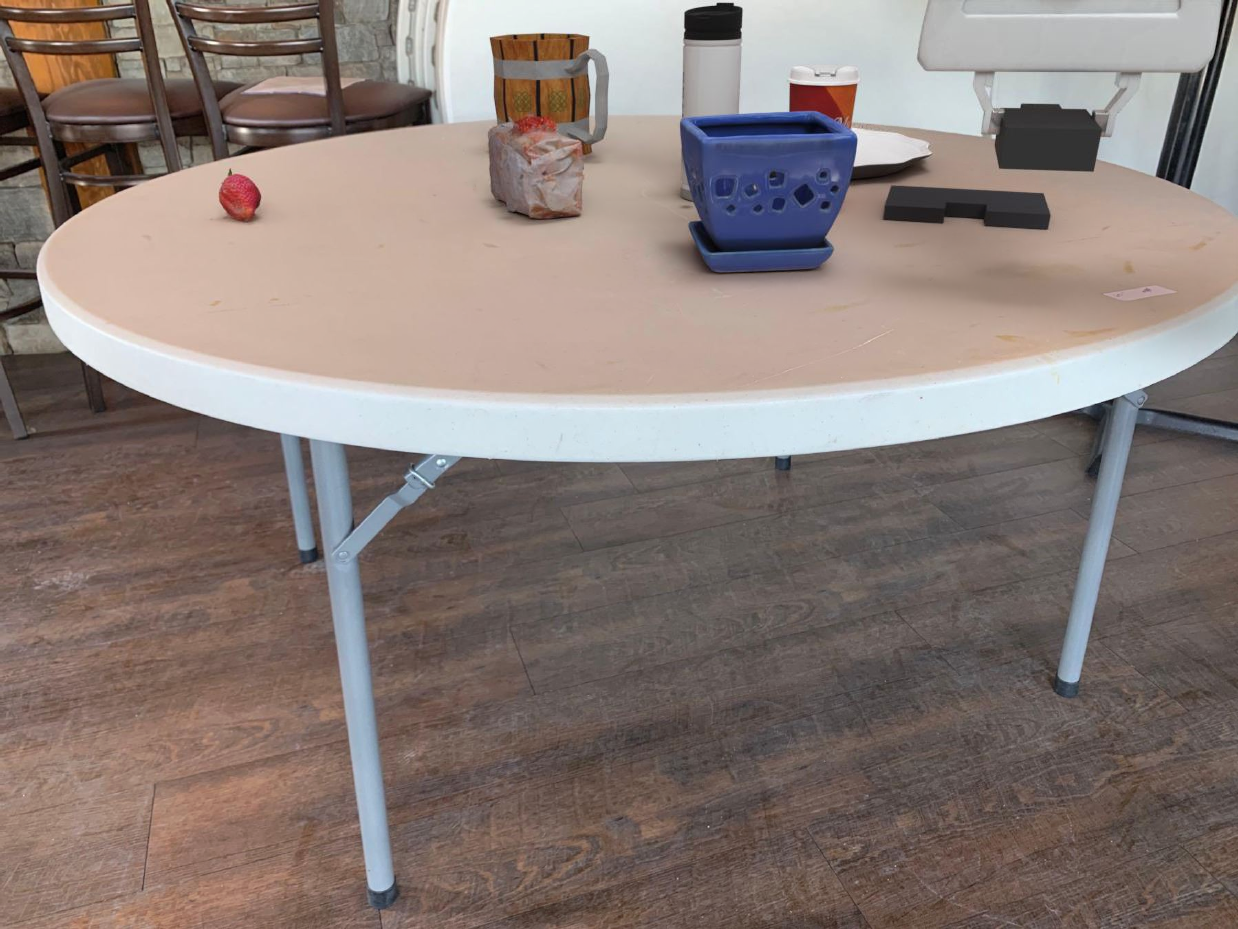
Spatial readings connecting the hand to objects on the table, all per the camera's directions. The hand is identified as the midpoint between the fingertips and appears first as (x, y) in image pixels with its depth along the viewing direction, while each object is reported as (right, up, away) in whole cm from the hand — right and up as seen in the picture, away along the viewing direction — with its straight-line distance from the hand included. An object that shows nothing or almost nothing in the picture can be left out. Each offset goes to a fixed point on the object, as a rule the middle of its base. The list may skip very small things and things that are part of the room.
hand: (1043, 134), depth 74 cm
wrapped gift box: (-42, +3, +32) cm, 53 cm away
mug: (-41, +18, +60) cm, 75 cm away
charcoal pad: (+4, +1, +28) cm, 28 cm away
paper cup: (-11, +4, +33) cm, 35 cm away
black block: (0, -1, +2) cm, 2 cm away
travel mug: (-23, +5, +37) cm, 43 cm away
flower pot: (-20, -7, +14) cm, 25 cm away
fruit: (-73, +1, +30) cm, 79 cm away
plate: (-7, +14, +53) cm, 56 cm away
